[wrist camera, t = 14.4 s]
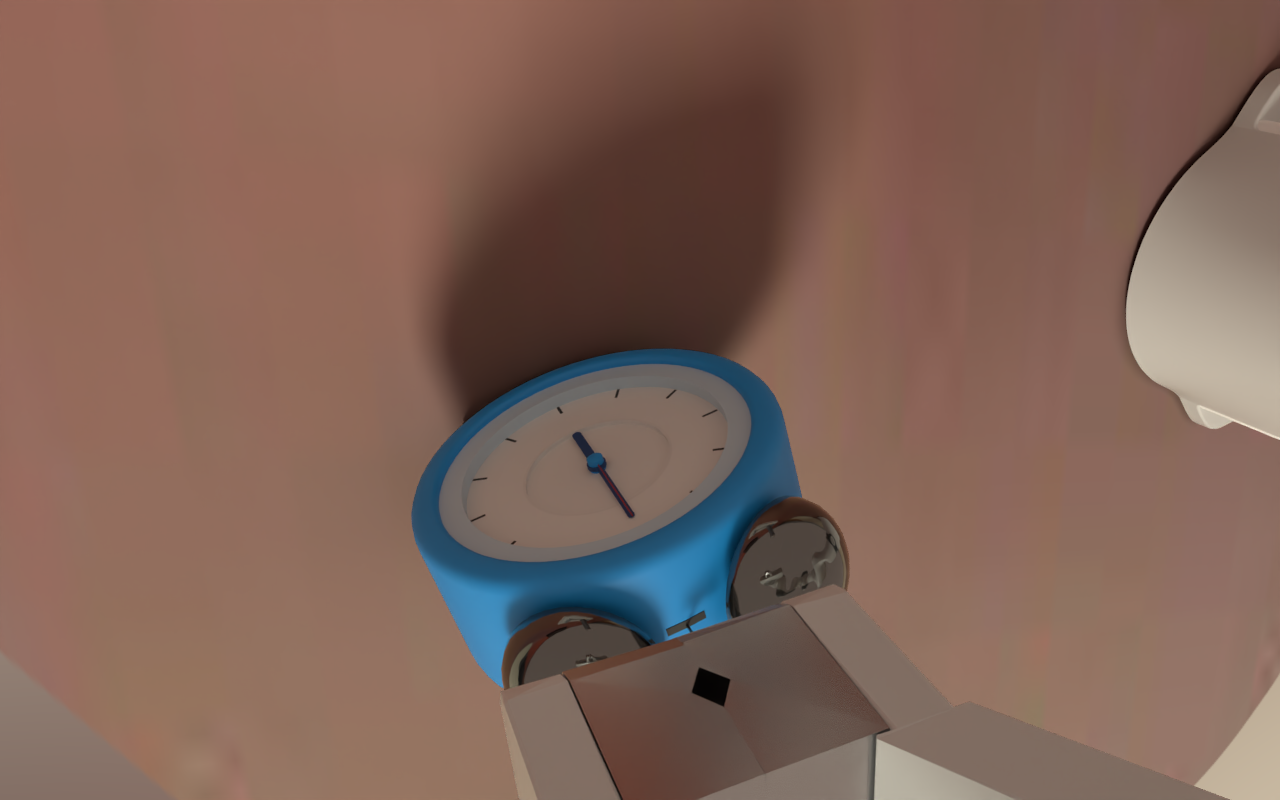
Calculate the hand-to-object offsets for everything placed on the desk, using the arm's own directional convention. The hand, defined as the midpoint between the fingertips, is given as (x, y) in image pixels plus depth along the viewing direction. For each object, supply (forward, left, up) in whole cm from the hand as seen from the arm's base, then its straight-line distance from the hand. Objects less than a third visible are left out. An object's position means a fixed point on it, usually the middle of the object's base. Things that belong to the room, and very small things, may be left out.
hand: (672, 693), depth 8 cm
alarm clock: (-6, +14, -29) cm, 33 cm away
